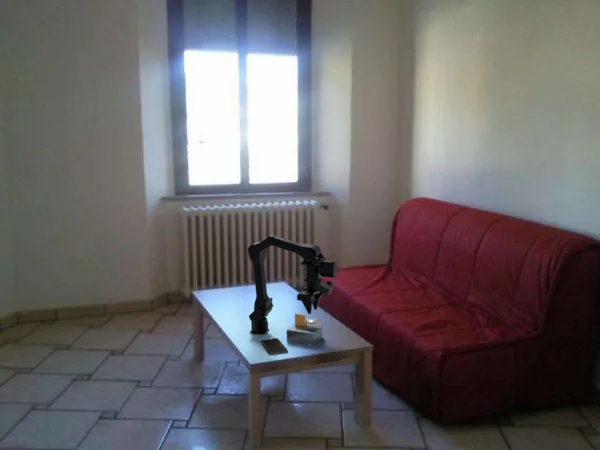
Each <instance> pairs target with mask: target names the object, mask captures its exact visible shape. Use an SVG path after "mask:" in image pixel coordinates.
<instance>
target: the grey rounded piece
mask: <svg viewBox="0 0 600 450" xmlns="http://www.w3.org/2000/svg"><path fill="white" fill-rule="evenodd" d="M305 322H306V329H308V330H318V329H319V328H320V326H321V320H320V319H318V318H307V319H305Z"/></svg>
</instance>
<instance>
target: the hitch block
mask: <svg viewBox="0 0 600 450" xmlns="http://www.w3.org/2000/svg"><path fill="white" fill-rule="evenodd" d="M321 339H323V325H320V328H319V329H318V330H308V329H306V326H298V325H295V323H294V324H292V325H291V326H290V327H288V328H287V329H286V342H289V341H290V343H291V342H292V343H295V342H296V343H297V344H303V345H310V346H314V345H316V343H318V342H320V340H321Z"/></svg>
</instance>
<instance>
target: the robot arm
mask: <svg viewBox="0 0 600 450" xmlns="http://www.w3.org/2000/svg"><path fill="white" fill-rule="evenodd" d="M272 246H273V247H274V248H275V247H276V248H279V249H280V250H281V249H282V250H285V251H288V252H291V253H294V254H296V255H298V256H299V257H300V258H302V259H303V260H302V262H300V265H301V266H305V267H304V269H305V271H304V273H305V277H304V278H303V282H305V287H304V288H303V291H301V292H299V293H297V294H296V300H297V301H300V302H301V303H302V304H303V306H304V308H305V310H306V312H307V314H308V315H311V314H312V312H313V311H312V308H313V310H314V311H315V310H318V307H319V304H320V299H321V297H322V296H323V295H324V296H327V297H328V296H329V295H330V294H331V293H332V291H333V290H334V285H333V281H332V280H330V279H329V280H328V281H327V282H326V281H322V277H324V278H333V279H335V278H337V276H338V271H339V268H338V265H337V261H336V260H327V258H326V257H325V256H324V255H323V253H322V251H321V248H320V246H319V245H317V244H312V243H300V242H298V241H297V242H296V241H293V240H290V239H287V238H284V237H281V236H277V235H276V234H271V235H269V236H267V237H266V238H265V239H263V240H261V241H257V242H254V243H252V244H250V245H249V246H248V247H247V254H248V258H249V260H250V262H251V263H252V266H253V267H252V268H253V277H254V285H255V300H254V304H253V311H252V312H251V313H250V314H249V315H248V318H249V320H250V321H251V324H250V325H251V330H250V331H249V333H250V334H256V335H264V334H266V333H267V332H269V331H270V329H269V321H268V316H269V315H270V314H269V313H271V312H272V311H273V308H274V303H273V297H269V295H268V293H267V292H268V290H267V288H268V287H267V280H266V271H265V270H266V269H265V261H266V256H267V250H268V249H269V248H271V247H272ZM320 276H321V277H320Z"/></svg>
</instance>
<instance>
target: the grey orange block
mask: <svg viewBox="0 0 600 450" xmlns="http://www.w3.org/2000/svg"><path fill="white" fill-rule="evenodd" d="M294 324H295V325H298V326H306V314H305V313H304V314H303V313H298V312H297V313H294Z"/></svg>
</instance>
